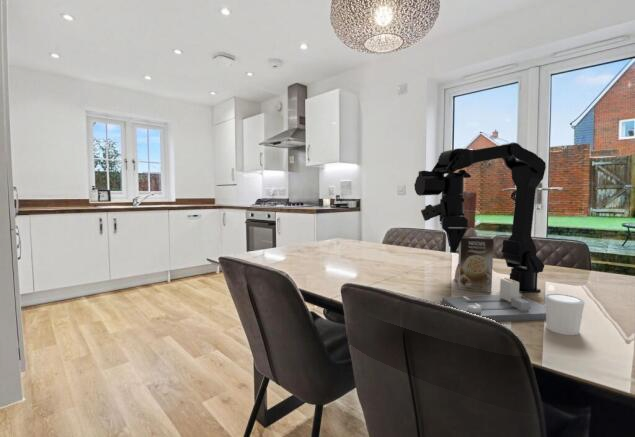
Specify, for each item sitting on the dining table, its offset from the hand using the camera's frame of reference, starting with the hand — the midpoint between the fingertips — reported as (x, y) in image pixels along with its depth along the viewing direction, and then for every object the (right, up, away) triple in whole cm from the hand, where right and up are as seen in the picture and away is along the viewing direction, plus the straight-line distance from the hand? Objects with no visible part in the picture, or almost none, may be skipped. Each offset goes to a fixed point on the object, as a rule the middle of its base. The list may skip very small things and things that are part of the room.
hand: (452, 249), depth 95 cm
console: (+7, -14, -11) cm, 19 cm away
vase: (+12, -12, +18) cm, 25 cm away
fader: (+11, -12, -9) cm, 19 cm away
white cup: (+14, -15, -23) cm, 31 cm away
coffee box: (+10, -13, +8) cm, 18 cm away
